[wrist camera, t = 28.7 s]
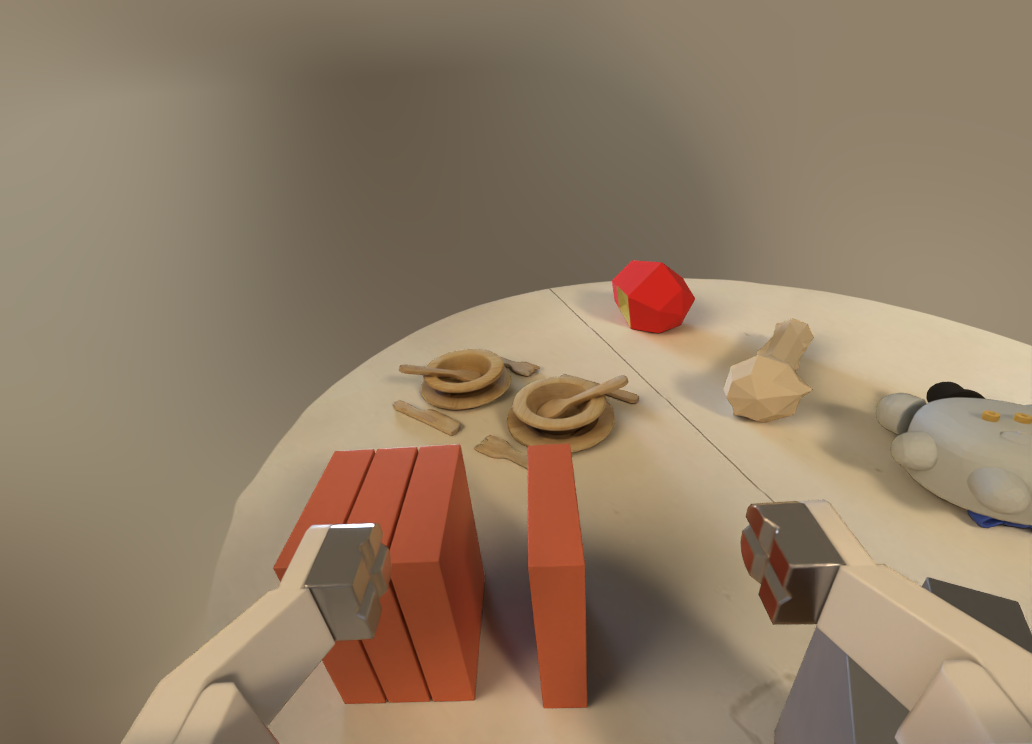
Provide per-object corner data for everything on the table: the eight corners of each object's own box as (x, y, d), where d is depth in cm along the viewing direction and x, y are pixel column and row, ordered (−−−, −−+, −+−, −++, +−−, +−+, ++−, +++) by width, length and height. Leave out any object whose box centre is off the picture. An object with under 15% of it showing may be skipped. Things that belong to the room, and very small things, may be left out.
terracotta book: (587, 707, 32) (585, 564, 25) (543, 708, 33) (528, 566, 25) (574, 578, 41) (570, 443, 33) (540, 579, 41) (527, 445, 34)
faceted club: (702, 413, 58) (754, 339, 75) (773, 451, 54) (810, 364, 72) (734, 355, 52) (782, 290, 70) (814, 393, 49) (844, 314, 66)
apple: (644, 353, 76) (587, 307, 86) (696, 336, 82) (638, 294, 91) (665, 288, 69) (600, 246, 78) (721, 273, 74) (654, 235, 84)
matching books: (474, 700, 33) (439, 560, 26) (344, 704, 34) (272, 568, 26) (485, 576, 42) (460, 443, 34) (381, 580, 43) (334, 450, 35)
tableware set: (643, 400, 63) (645, 361, 60) (563, 491, 50) (561, 447, 47) (476, 350, 80) (471, 317, 77) (384, 408, 67) (374, 372, 64)
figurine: (1180, 578, 36) (1025, 439, 53) (1247, 488, 32) (1057, 370, 50) (906, 533, 42) (845, 420, 59) (937, 452, 38) (862, 356, 55)
